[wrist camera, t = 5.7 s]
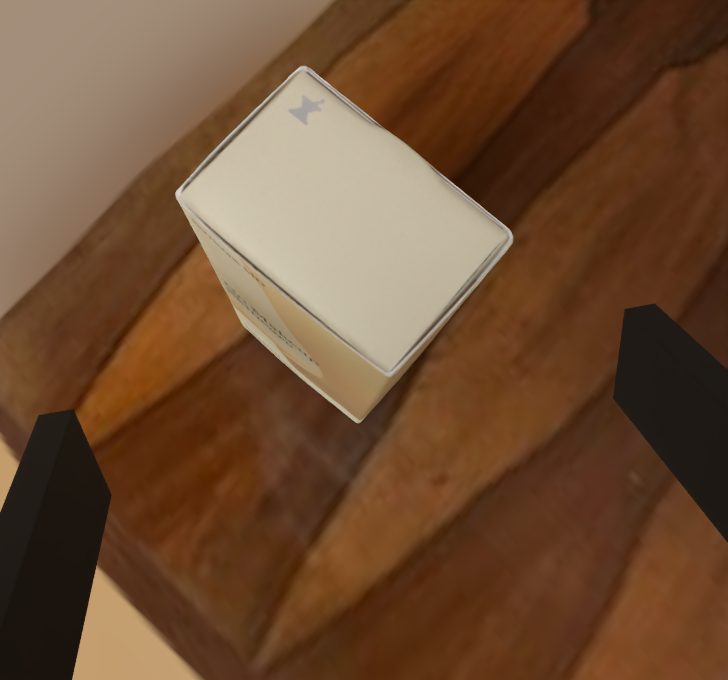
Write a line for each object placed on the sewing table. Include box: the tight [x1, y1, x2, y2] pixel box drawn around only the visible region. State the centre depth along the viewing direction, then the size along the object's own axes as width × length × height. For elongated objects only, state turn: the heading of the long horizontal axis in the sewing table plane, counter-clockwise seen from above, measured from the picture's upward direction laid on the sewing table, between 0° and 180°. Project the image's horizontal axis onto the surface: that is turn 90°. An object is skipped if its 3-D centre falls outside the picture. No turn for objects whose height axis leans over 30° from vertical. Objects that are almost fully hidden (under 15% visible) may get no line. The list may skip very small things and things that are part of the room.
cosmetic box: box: [175, 66, 514, 423], centre depth 20 cm, size 6×4×12 cm
